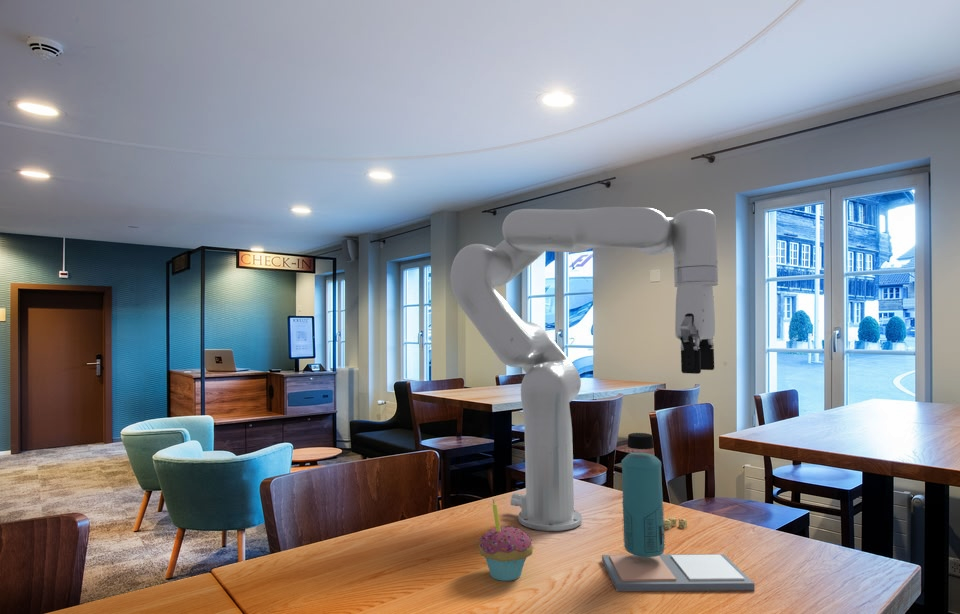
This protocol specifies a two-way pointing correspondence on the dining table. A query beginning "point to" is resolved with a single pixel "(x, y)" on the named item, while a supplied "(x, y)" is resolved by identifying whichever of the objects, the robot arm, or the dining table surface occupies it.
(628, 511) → the beverage bottle
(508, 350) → the robot arm
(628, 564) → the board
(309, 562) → the dining table surface
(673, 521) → the dice set
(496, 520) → the cupcake
